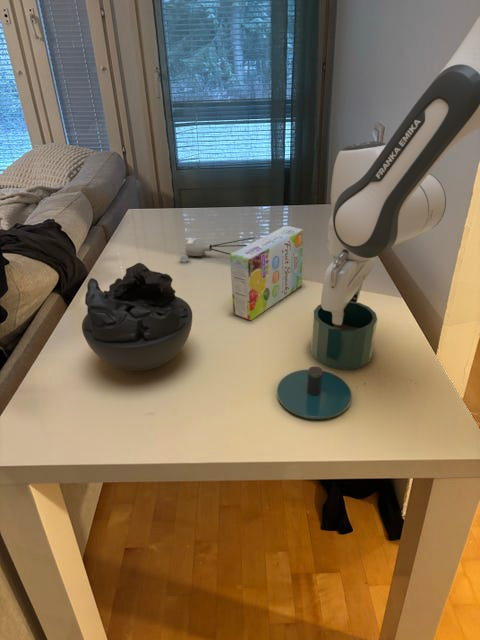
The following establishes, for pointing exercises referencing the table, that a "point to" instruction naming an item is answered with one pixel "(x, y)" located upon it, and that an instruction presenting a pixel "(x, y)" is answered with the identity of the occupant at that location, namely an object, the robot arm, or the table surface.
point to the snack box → (266, 271)
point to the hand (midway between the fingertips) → (346, 311)
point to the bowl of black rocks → (136, 320)
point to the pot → (344, 337)
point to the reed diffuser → (202, 248)
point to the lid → (314, 393)
